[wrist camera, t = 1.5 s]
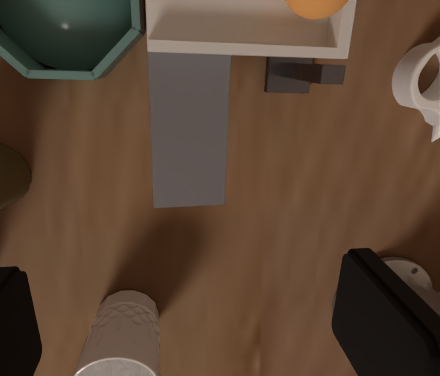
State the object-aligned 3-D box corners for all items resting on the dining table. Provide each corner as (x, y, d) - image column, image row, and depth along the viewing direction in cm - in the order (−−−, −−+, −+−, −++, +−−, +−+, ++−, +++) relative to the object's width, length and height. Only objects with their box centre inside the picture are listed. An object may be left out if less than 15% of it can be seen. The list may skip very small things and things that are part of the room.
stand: (325, -85, 28) (400, -155, 19) (304, 92, 33) (356, 105, 24) (277, -90, 28) (330, -164, 18) (264, 91, 32) (300, 105, 23)
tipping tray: (347, -85, 21) (372, -102, 18) (309, 195, 27) (324, 208, 25) (141, -111, 18) (140, -135, 16) (153, 202, 25) (154, 217, 22)
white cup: (98, 279, 37) (74, 353, 28) (169, 290, 39) (168, 362, 30) (88, 336, 40) (62, 420, 31) (155, 343, 42) (151, 425, 32)
